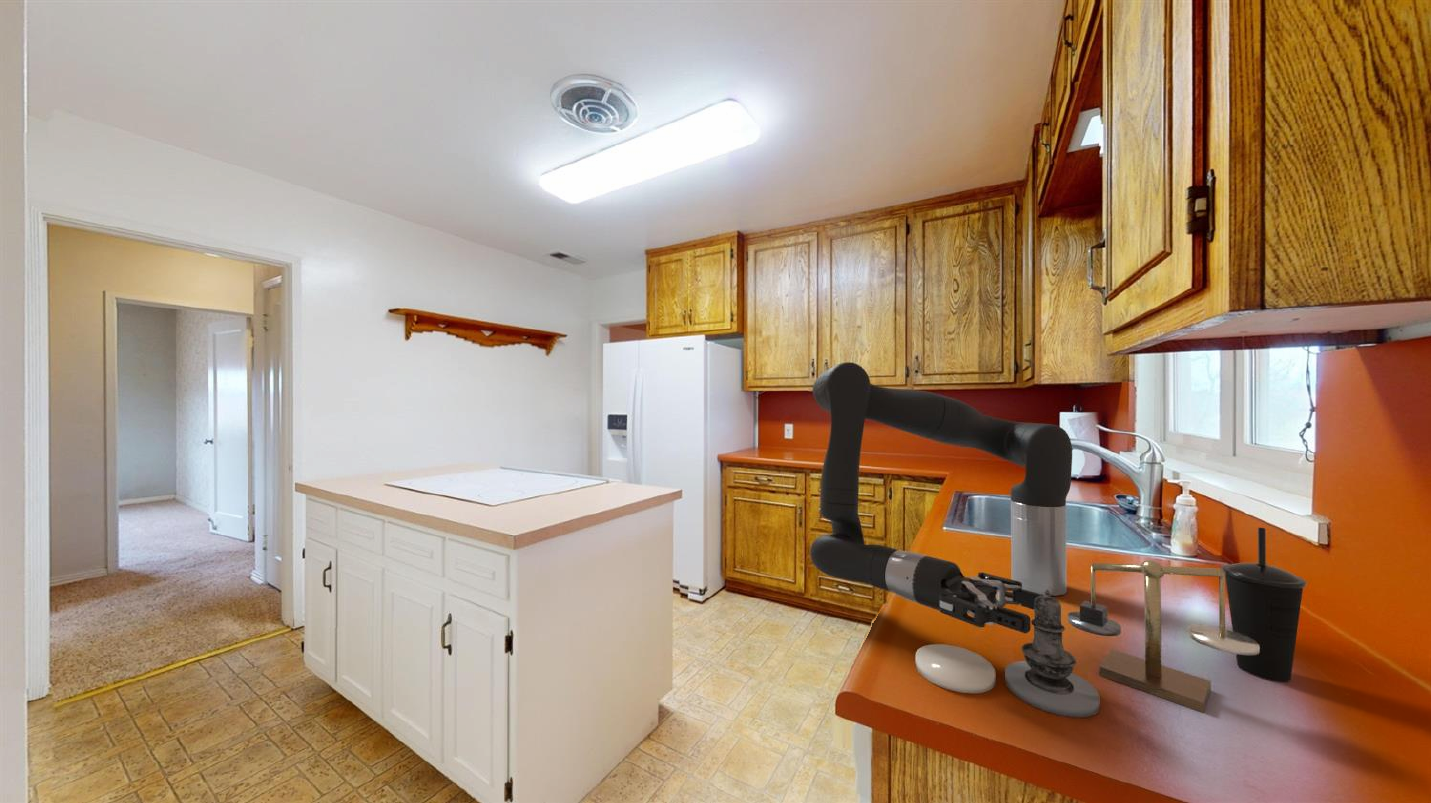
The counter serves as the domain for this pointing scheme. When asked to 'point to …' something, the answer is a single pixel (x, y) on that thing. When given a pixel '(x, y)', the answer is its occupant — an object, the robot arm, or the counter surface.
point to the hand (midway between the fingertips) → (1041, 615)
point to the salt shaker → (1048, 649)
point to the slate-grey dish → (1069, 705)
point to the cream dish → (955, 668)
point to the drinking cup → (1265, 613)
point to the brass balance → (1159, 637)
